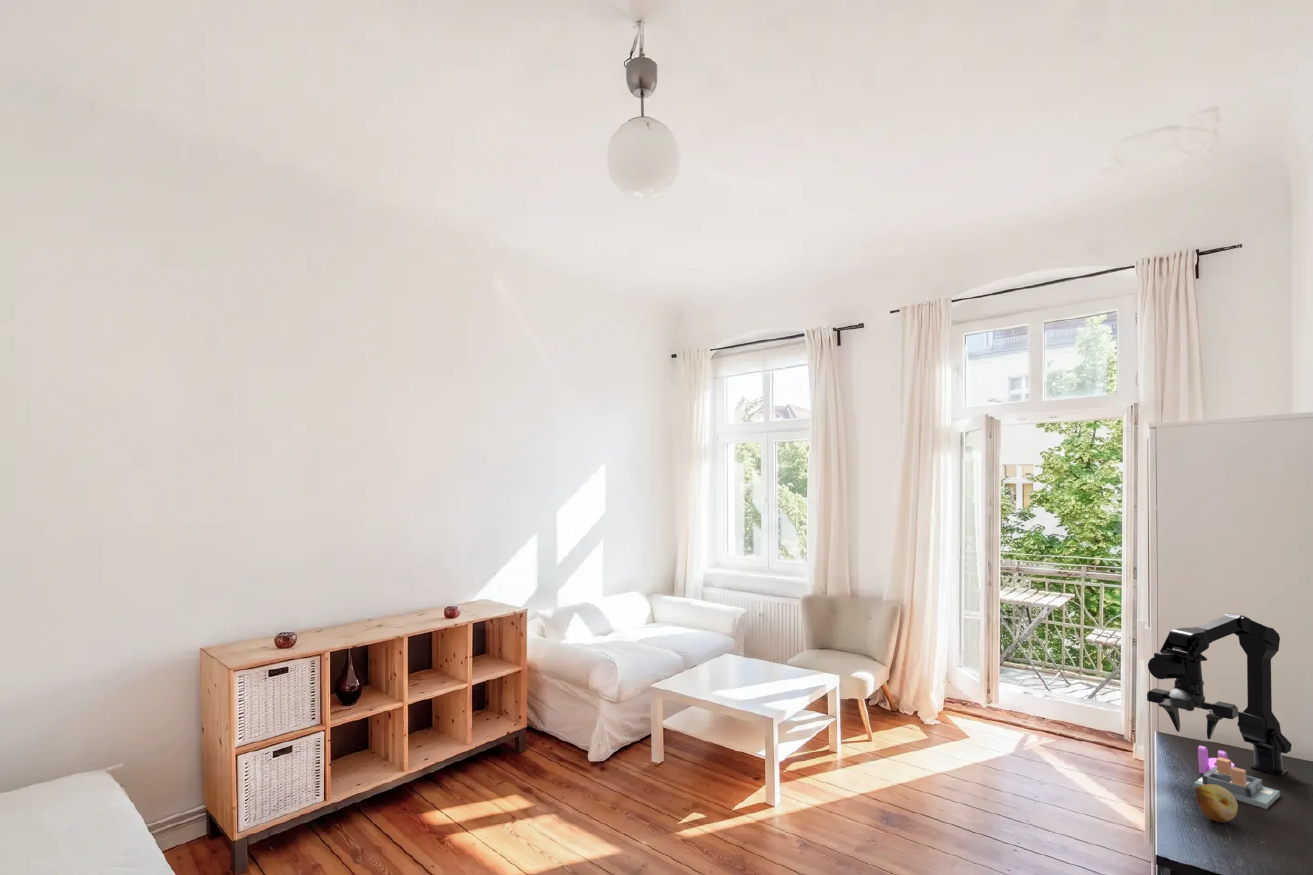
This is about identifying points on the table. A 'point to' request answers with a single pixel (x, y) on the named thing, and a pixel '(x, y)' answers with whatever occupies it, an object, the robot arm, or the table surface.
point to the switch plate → (1241, 788)
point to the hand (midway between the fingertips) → (1193, 735)
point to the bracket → (1209, 763)
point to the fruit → (1216, 802)
